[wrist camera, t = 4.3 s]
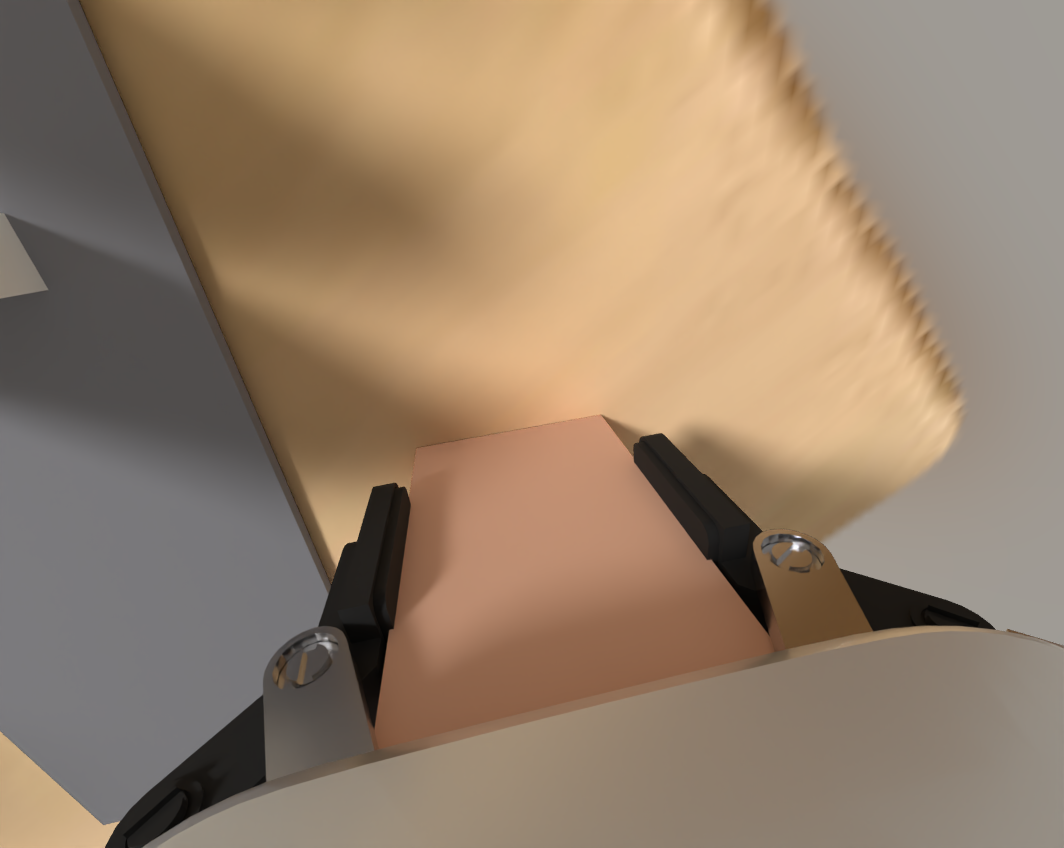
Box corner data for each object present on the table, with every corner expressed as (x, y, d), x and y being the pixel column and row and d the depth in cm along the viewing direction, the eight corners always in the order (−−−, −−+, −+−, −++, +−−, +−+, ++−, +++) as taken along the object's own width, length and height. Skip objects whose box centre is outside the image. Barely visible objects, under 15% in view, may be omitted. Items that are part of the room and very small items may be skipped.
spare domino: (416, 447, 14) (298, 1244, 3) (600, 414, 14) (1037, 988, 4) (427, 490, 15) (362, 1259, 4) (603, 456, 15) (975, 1041, 4)
